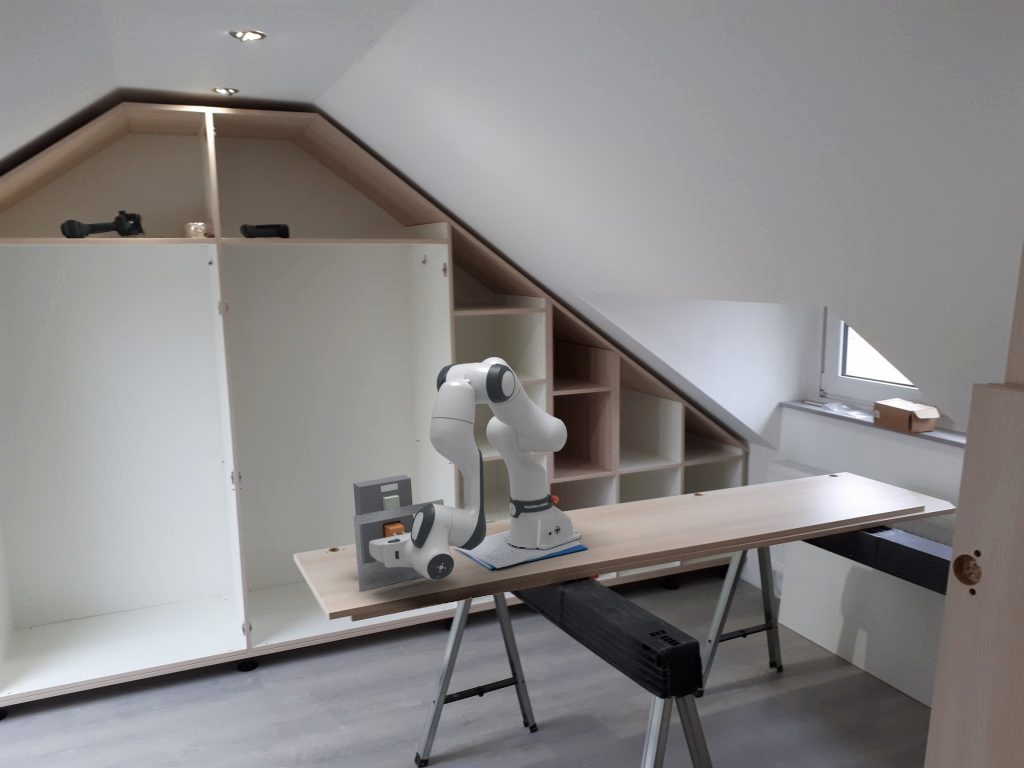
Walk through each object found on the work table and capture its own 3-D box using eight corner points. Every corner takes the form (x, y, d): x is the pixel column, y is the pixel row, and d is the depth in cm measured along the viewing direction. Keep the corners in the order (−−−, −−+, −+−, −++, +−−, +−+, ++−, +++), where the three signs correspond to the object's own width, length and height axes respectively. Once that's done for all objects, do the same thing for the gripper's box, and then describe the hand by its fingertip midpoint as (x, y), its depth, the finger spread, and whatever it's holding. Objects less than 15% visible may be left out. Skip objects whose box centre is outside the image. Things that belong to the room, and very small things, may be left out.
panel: (419, 569, 237) (413, 479, 233) (368, 581, 230) (361, 488, 226) (410, 562, 243) (404, 474, 239) (360, 573, 236) (353, 483, 232)
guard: (447, 570, 235) (443, 499, 232) (359, 591, 223) (354, 516, 220) (436, 563, 241) (432, 493, 239) (351, 582, 230) (345, 509, 227)
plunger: (405, 540, 231) (404, 526, 231) (391, 543, 229) (390, 529, 229) (396, 534, 237) (395, 520, 237) (382, 536, 236) (381, 523, 235)
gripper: (452, 529, 222) (432, 517, 234) (378, 545, 213) (361, 531, 225) (454, 552, 223) (433, 539, 235) (380, 569, 214) (363, 553, 226)
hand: (397, 535), depth 230 cm, fingers closed
